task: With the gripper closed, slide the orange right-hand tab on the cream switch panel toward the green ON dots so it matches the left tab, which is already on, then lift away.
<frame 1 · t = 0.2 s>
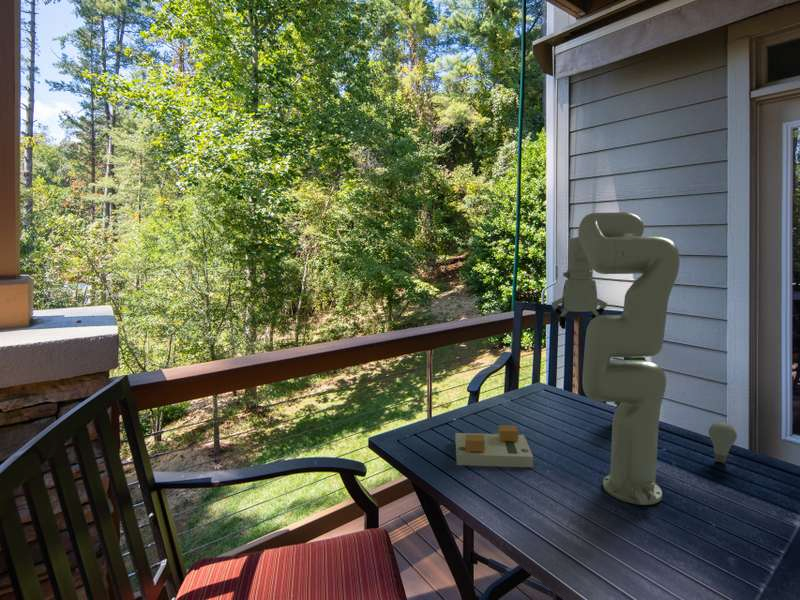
hand: (578, 328, 148), 31 cm above the table, tool pointing down, fingers open, 9 cm apart
right tab: (508, 433, 130), point 5 cm above the table, slide at 0.0 cm
left tab: (474, 442, 124), point 5 cm above the table, slide at 7.0 cm
switch panel: (491, 454, 128), on the table
decorative tree: (628, 426, 146), on the table
lightbulb: (720, 463, 121), on the table
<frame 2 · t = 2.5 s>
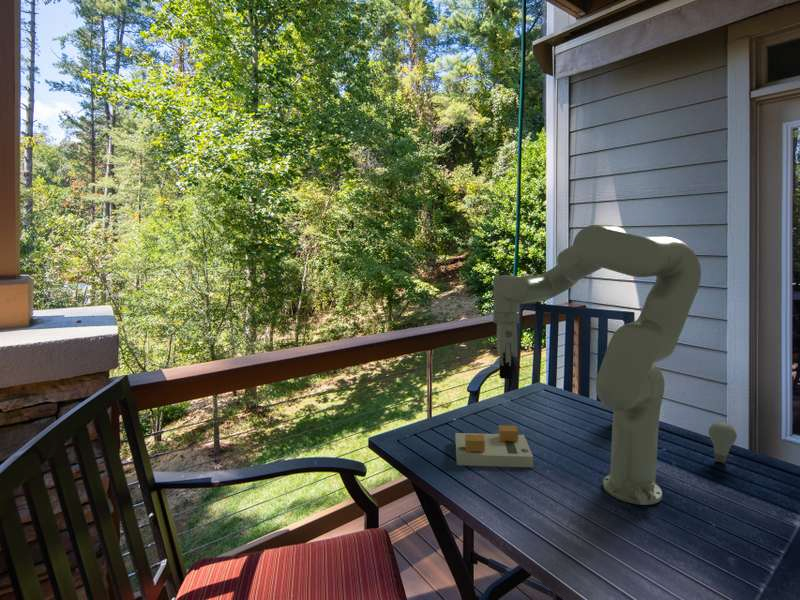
hand: (505, 377, 136), 19 cm above the table, tool pointing down, fingers closed
nothing on the table moved.
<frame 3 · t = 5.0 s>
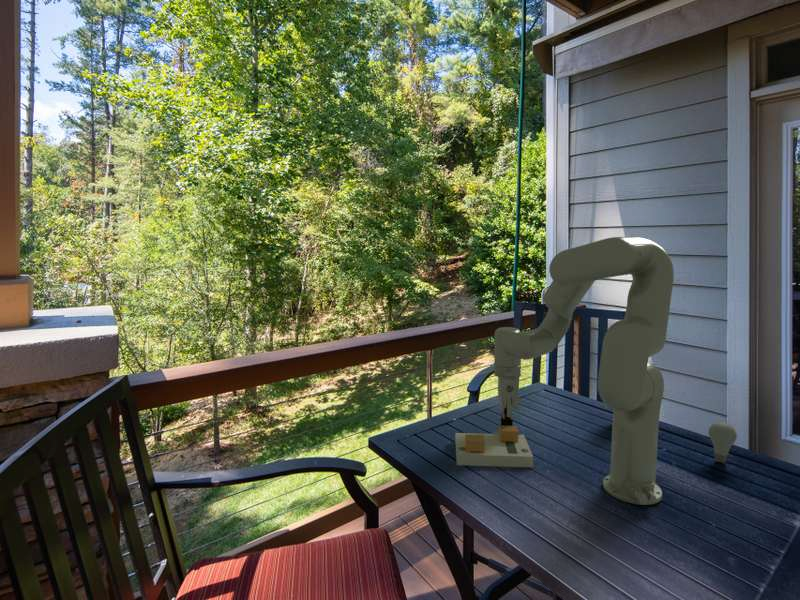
hand: (506, 430, 134), 4 cm above the table, tool pointing down, fingers closed
right tab: (508, 433, 130), point 5 cm above the table, slide at 0.2 cm, touching gripper
everything else where it was.
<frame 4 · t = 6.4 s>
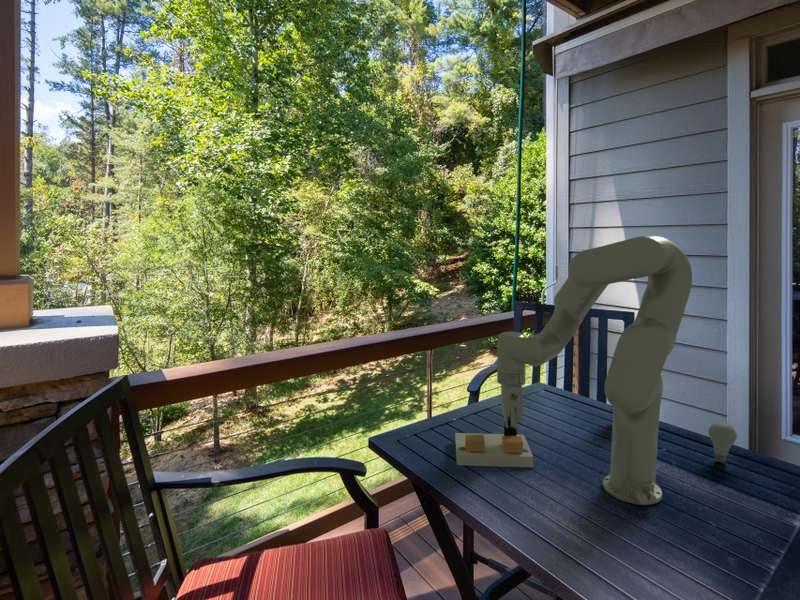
hand: (510, 440, 127), 4 cm above the table, tool pointing down, fingers closed
right tab: (512, 444, 123), point 5 cm above the table, slide at 7.2 cm, touching gripper
everything else where it was.
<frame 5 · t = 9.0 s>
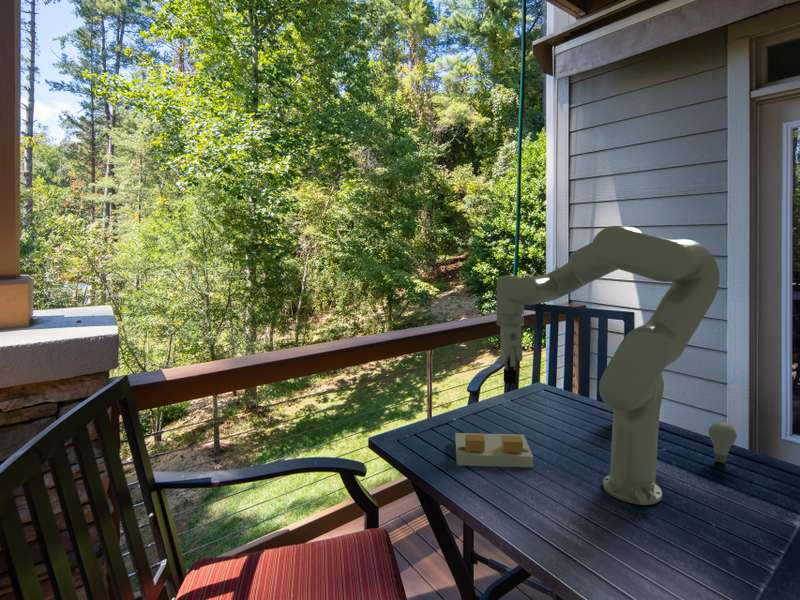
hand: (509, 382, 130), 19 cm above the table, tool pointing down, fingers closed
right tab: (512, 444, 123), point 5 cm above the table, slide at 7.1 cm
everything else where it was.
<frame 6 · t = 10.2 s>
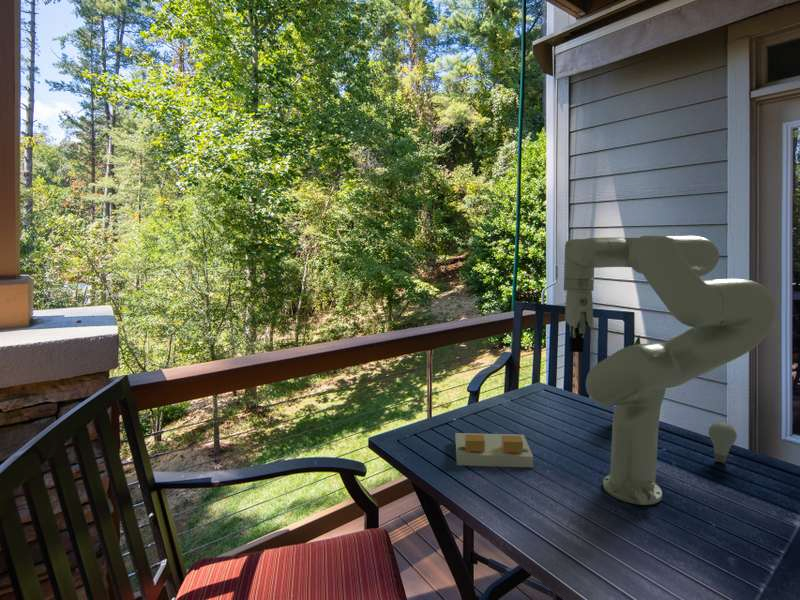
hand: (576, 351, 125), 29 cm above the table, tool pointing down, fingers closed
nothing on the table moved.
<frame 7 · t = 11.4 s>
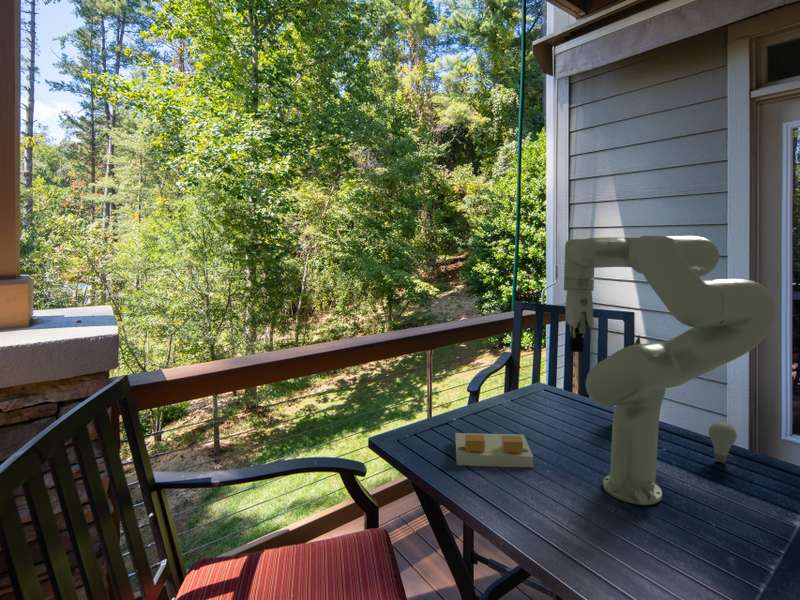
hand: (576, 351, 125), 29 cm above the table, tool pointing down, fingers closed
nothing on the table moved.
at the end: right tab slide at 7.1 cm; left tab slide at 7.0 cm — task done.
